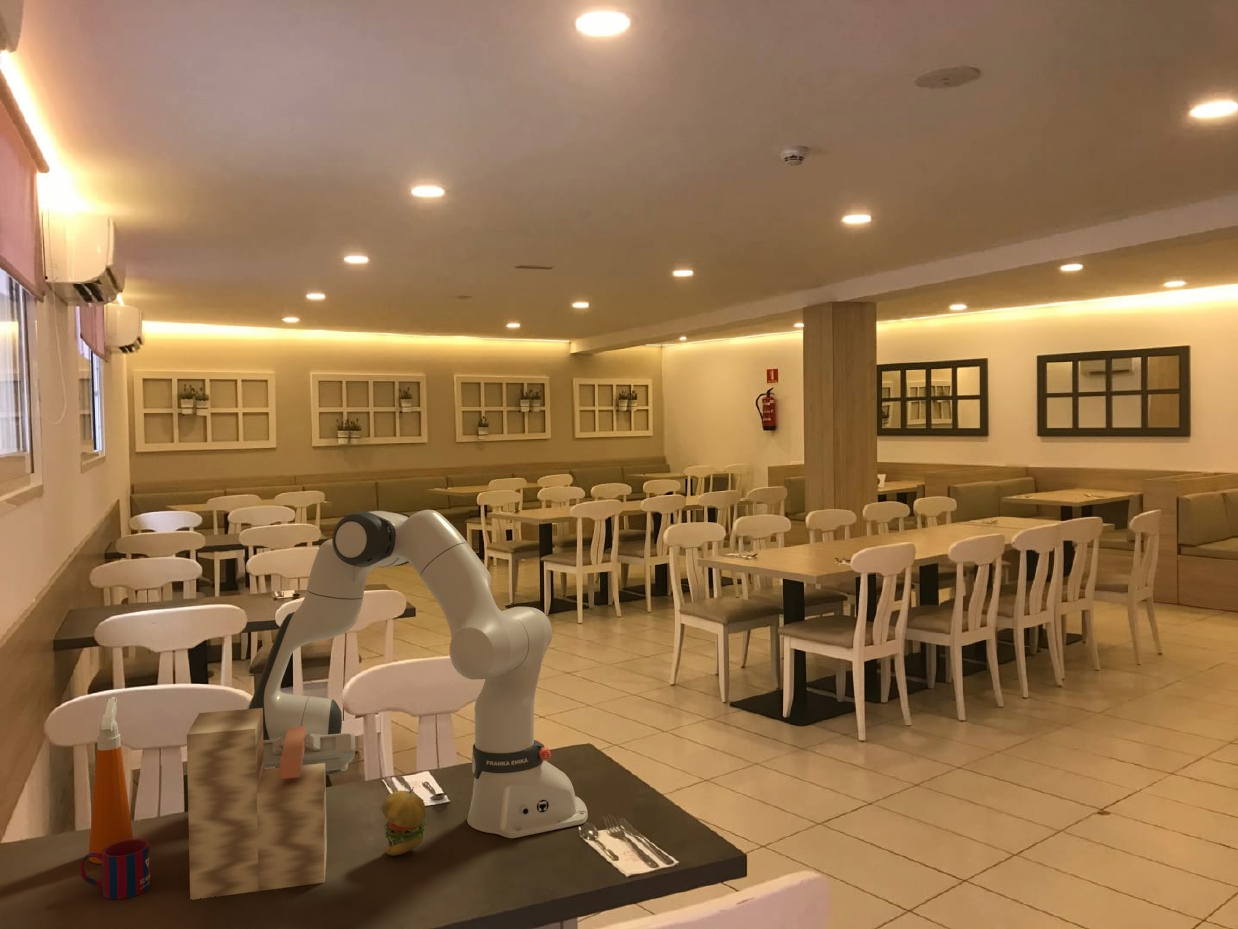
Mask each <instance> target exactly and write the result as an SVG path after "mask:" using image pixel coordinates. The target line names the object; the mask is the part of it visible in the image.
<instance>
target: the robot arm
mask: <svg viewBox="0 0 1238 929" xmlns="http://www.w3.org/2000/svg"><path fill="white" fill-rule="evenodd" d="M409 563H410V565H411V566H412V568H413V569H414V570H415V571H416V573H417V574H418V576H419V577H420V579H421V580H422V582H423V583H424V584H425V586H426V587H427V589H428V590H429V591H430V593H431V595H432V596H433V597H434V599H435V600H436V602H437V604H438V605H439V606H440V608H441V610H442V612H443V614H444V616H445V618H446V621H447V625H448V627H449V632H450V636H451V639H450V643H449V651H448V652H449V659H450V662H451V664H452V666H453V668H454V669H455V671H456V672H457V673H458V674H459V675H461V676H462V678H463V677H464V678H466V679H468V680H475V681H476V680H484V682H483V686H482V689H481V690H480V692H479V694H478V696H477V698H476V701H475V703H474V744H473V745H472V753H471V768H472V774H473V777H474V778H473V789H472V796H471V802H470V806H469V812H468V815H467V819H466V821H467V824H468V825H469V826H470V827H471V828H473V829H475V830H478V831H479V832H484V833H489V834H496V835H498V836H502V837H504V838H506V839H507V838H508V839H515V838H516V839H517V838H520V837H525V836H526V837H527V836H530V835H535V834H541V833H545V832H551V831H554V830H560V829H564V828H568V827H574V826H579V825H582V824H585V823H586V822H587V820H588V818H589V815H588V813H589V812H588V808H587V806H586V803H585V802H584V801H583V800H582V799H581V798H580V797H578V796H577V795H576V794H575V788H574V786H573V784H572V781H571V780H570V778H569V777H568V776H567V774H566V773H565V772H563V771H562V770H560V769H559V768H557V767H556V766H554V765H553V764H551V763H550V762H548V760H550V758H551V756H552V754H551V751H550V750H549V748H548V747H546V746H545V745H544V744H543V743H542V742H540V741H539V739H535V700H536V699H535V698H536V693H537V692H536V691H537V688H538V687H537V686H538V683H539V677H540V674H541V670H542V665H543V664H542V663H543V661H544V658H545V654H546V652H547V650H548V648H549V646H550V644H551V642H552V638H553V627H552V624H551V621H550V618H549V617H548V616H547V615H546V613H544V612H543V611H542V610H540V609H538V608H535V607H531V606H514V607H509V608H507V609H504V610H500V608H499V607H498V605H497V604H496V602H495V599H494V596H493V594H492V590H491V586H492V580H493V579H492V575H491V573H490V572H489V570H488V568H487V567H486V566H485V564H484V563H483V562H482V560H481V559H480V557H479V556H478V555H477V554H476V552H475V551H474V550H473V548H472V547H471V546H470V545H469V542H467V540H466V539H465V537H464V536H463V535H462V533H460V532H459V530H458V529H457V528H456V527H455V526H454V525H453V524H452V523H451V522H450V521H449V520H448V519H447V518H445V516H443V515H442V513H440V512H438V511H437V510H433V509H424V510H419V511H417V512H415V513H413V514H412V515H410V514H407V513H402V512H396V513H395V512H391V511H386V510H373V511H362V510H361V511H357V512H352V513H350V514H347V515H346V516H344V517H343V518H341V519H340V520H339V521H338V522H337V524H336V525H335V527H334V530H333V531H332V537H331V539H327V540H325V541H324V542H322V544H321V545H320V546H319V547H318V550H317V552H316V555H315V557H314V560H313V564H312V566H311V570H310V573H309V576H308V577H309V578H308V581H307V587H306V591H305V595H304V598H303V601H302V602H301V604H300V606H299V607H298V608H297V609H296V610H295V611H293V612H289V613H288V614H286V616H285V617H284V619H283V620H282V623H281V624H280V626H279V629H278V631H277V633H276V636H275V638H274V640H273V643H272V646H271V648H270V651H269V653H268V657H267V659H266V661H265V662H266V663H265V664H264V668H263V670H262V672H261V675H260V678H259V680H258V684H257V686H256V689H255V692H254V693H253V696H252V697H251V699H250V701H249V702H248V705H247V707H246V709H256V708H263V747H264V769H269V768H279V767H280V759H281V755H282V751H283V746H284V742H285V738H286V734H287V730H288V728H290V727H301V726H306V736H304V740H305V741H304V746H305V751H304V757H303V763H302V765H310V764H321V763H325V775H326V776H328V775H331V774H336V773H341V772H344V771H347V770H348V767H349V764H350V763H351V762H352V761H353V760H354V758H355V754H356V734H355V733H354V732H345V733H342V726H343V720H342V718H343V716H342V714H343V712H342V710H341V707H340V706H339V704H338V703H337V702H336V701H335V699H333V698H328V697H320V696H311V695H310V696H309V695H303V694H302V695H300V694H293V693H285V692H282V691H281V689H280V686H281V684H282V681H283V678H284V676H285V673H286V669H287V667H288V665H289V662H290V659H291V656H292V654H293V653H294V651H296V650H297V649H298V648H300V647H303V646H305V645H308V644H312V643H317V642H322V641H326V640H329V639H330V640H331V639H333V638H336V637H338V636H341V635H343V634H345V633H347V632H348V631H350V630H351V629H352V628H353V627H354V626H355V624H356V623H357V622H358V620H359V616H360V613H361V610H362V606H363V601H364V594H365V588H366V582H367V578H368V576H369V575H370V573H371V572H372V571H373V570H374V569H375V568H382V569H383V568H389V567H390V568H391V567H400V566H404V565H407V564H409Z"/></svg>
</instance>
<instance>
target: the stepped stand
mask: <svg viewBox="0 0 1238 929" xmlns="http://www.w3.org/2000/svg"><path fill="white" fill-rule="evenodd" d="M186 763H187V766H186V767H187V801H188V802H187V803H188V804H187V805H188V806H187V807H188V808H187V809H188V810H187V811H188V812H187V813H188V815H187V816H188V848H189V849H188V851H189V852H188V853H189V855H188V857H189V896H190V897H189V898H190V900H191V899H192V900H199V899H200V898H201V899H207V898H208V899H209V898H214V897H215V896H216V897H222V896H230V895H231V896H233V895H238V894H246V893H253V892H254V893H255V892H260V891H269V890H279V889H284V888H294V887H299V886H300V887H301V886H307V885H309V886H310V885H316V884H323V883H325V880H326V867H327V856H328V854H327V852H328V848H327V847H328V844H327V843H328V842H327V836H328V834H327V792H326V790H327V787H326V784H327V783H326V781H327V779H326V776H327V775H325V763H321V764H310V765H302V769H301V775H300V777H295V778H285V779H281V778H280V767H279V768H276V767H271V768H264V747H263V708H256V709H247V708H245V709H231V710H221V711H209V712H198V714H197V716H196V717H195V720H194V721H193V722H192V724H191V726H190V728H189V730H188V732H187V733H186ZM216 897H215V898H216ZM201 899H200V900H201Z"/></svg>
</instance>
